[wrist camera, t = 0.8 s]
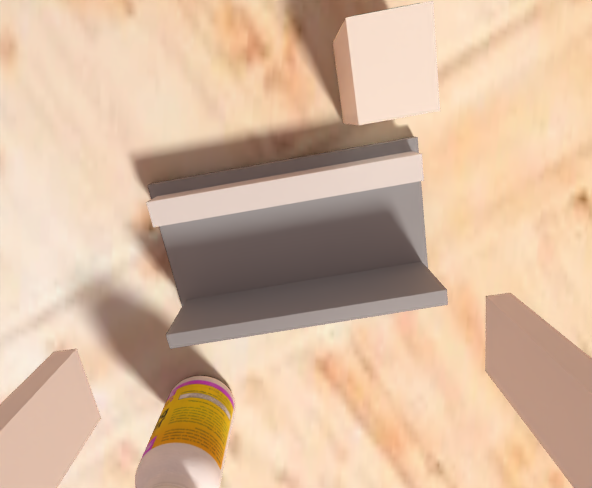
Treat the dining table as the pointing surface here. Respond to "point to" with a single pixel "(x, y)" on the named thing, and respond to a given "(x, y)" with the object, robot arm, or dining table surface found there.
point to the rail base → (296, 242)
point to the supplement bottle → (189, 437)
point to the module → (387, 64)
